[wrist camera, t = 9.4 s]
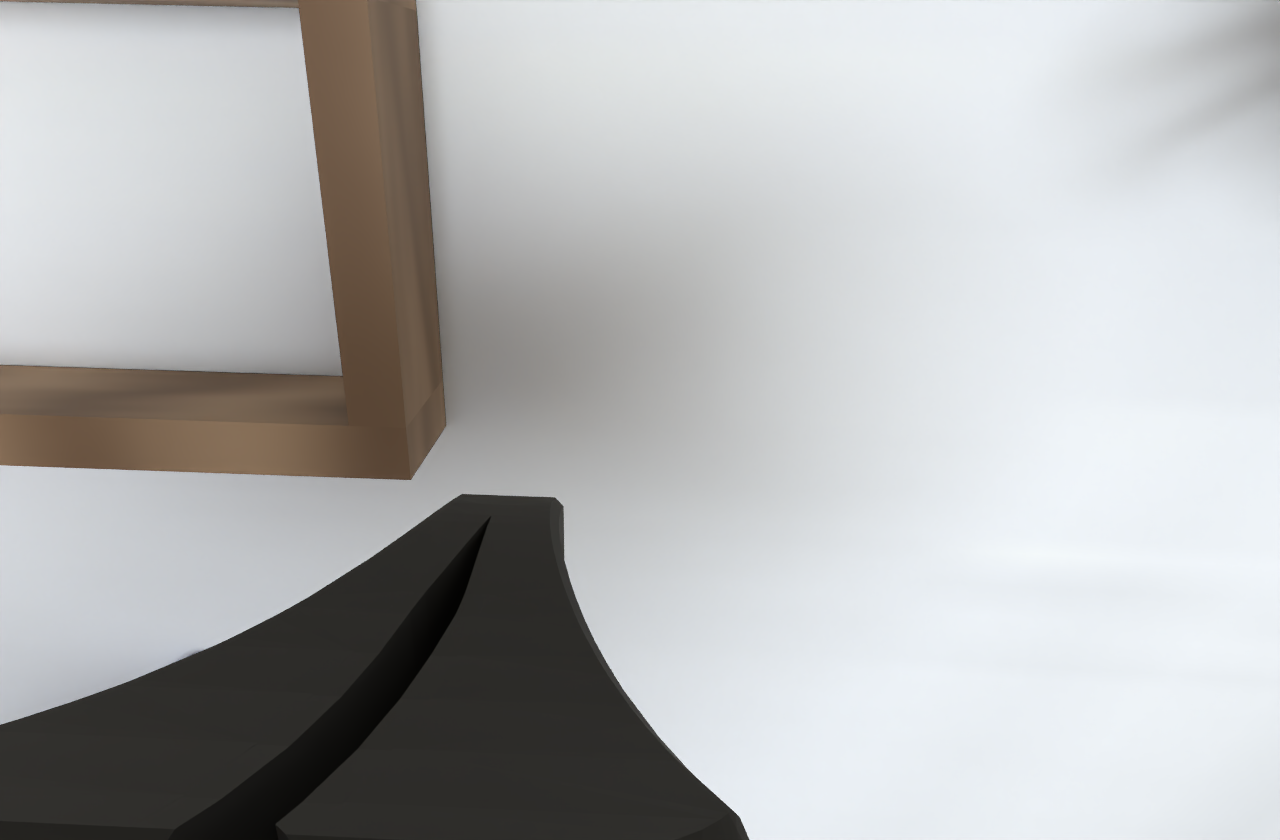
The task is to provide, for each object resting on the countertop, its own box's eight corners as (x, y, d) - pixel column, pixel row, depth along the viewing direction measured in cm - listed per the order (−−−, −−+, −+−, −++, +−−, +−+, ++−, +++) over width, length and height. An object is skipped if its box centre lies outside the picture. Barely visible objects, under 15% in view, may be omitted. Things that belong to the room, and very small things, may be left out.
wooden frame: (411, -57, 17) (359, -84, 14) (446, 425, 21) (410, 480, 18) (-253, -71, 17) (-435, -99, 14) (-95, 407, 21) (-212, 457, 18)
